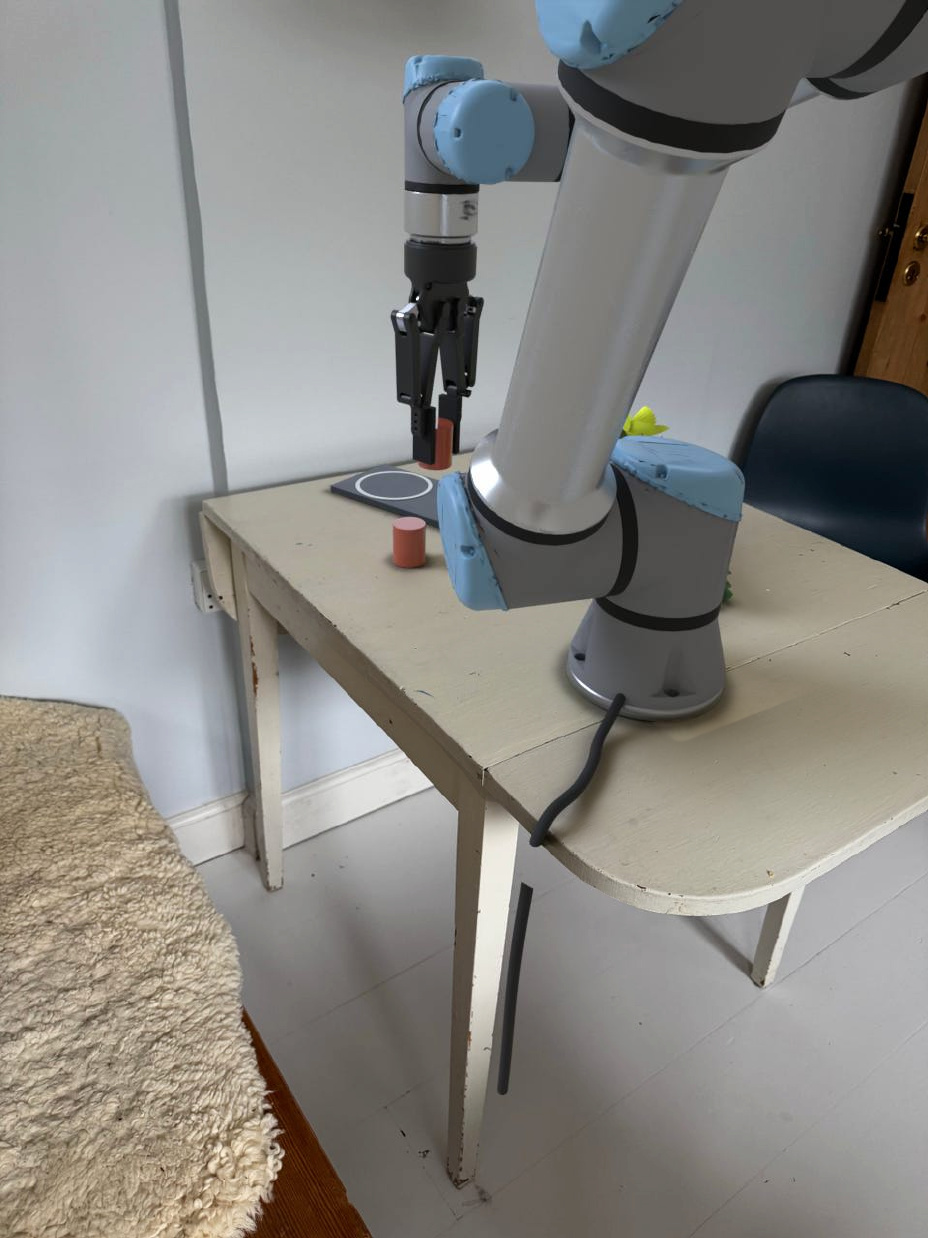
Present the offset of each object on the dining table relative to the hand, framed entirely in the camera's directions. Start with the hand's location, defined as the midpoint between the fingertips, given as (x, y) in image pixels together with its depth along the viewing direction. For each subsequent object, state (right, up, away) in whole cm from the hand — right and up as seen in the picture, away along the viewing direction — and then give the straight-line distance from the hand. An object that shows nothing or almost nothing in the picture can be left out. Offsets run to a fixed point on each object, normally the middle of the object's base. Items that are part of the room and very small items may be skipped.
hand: (436, 455), depth 98 cm
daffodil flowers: (+27, -11, +10) cm, 30 cm away
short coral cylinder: (0, -1, +1) cm, 1 cm away
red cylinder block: (-3, -12, +6) cm, 14 cm away
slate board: (-3, -2, +22) cm, 23 cm away
